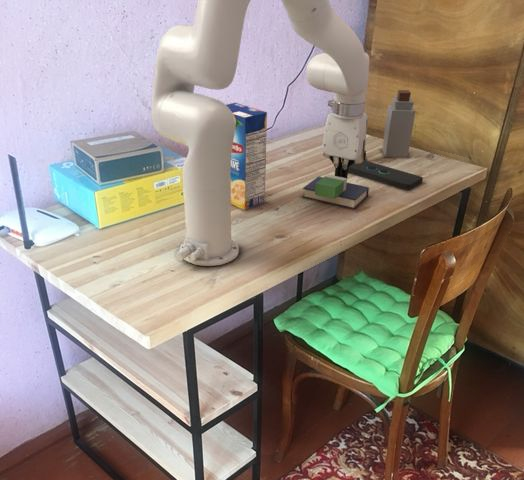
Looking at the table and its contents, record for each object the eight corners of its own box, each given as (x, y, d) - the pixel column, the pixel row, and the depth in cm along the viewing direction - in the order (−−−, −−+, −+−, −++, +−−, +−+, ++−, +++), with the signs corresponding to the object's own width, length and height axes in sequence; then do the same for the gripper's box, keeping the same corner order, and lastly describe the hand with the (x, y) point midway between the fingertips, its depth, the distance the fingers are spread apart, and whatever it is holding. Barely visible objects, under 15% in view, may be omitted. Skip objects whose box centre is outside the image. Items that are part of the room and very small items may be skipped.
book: (354, 209, 146) (355, 199, 144) (302, 197, 151) (303, 187, 150) (367, 196, 152) (369, 187, 151) (317, 185, 158) (318, 176, 156)
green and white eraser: (334, 199, 144) (335, 187, 142) (314, 194, 146) (315, 183, 144) (345, 189, 149) (347, 178, 147) (326, 185, 151) (327, 174, 149)
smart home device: (362, 158, 170) (424, 176, 160) (362, 164, 172) (422, 182, 161) (346, 166, 165) (408, 184, 155) (345, 172, 167) (407, 191, 156)
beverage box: (245, 210, 144) (245, 117, 131) (215, 197, 150) (213, 107, 137) (264, 202, 148) (267, 112, 135) (235, 190, 154) (235, 102, 141)
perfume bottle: (407, 157, 177) (418, 94, 167) (385, 157, 177) (394, 94, 167) (403, 150, 183) (413, 88, 172) (382, 149, 183) (390, 88, 172)
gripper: (313, 107, 141) (308, 181, 152) (371, 117, 135) (362, 193, 146) (326, 100, 146) (320, 172, 157) (383, 109, 141) (372, 183, 152)
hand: (340, 182), depth 152 cm, fingers closed
